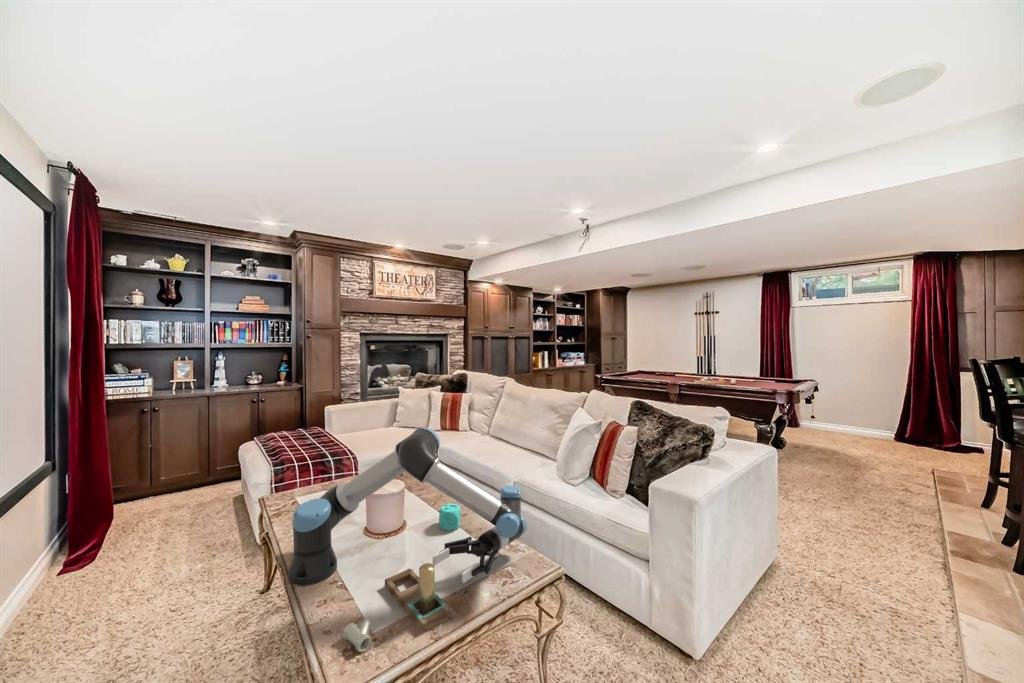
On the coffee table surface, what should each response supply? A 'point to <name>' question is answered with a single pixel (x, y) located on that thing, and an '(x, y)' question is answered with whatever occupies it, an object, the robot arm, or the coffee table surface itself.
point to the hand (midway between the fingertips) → (447, 569)
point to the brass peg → (427, 588)
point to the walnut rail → (416, 601)
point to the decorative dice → (450, 516)
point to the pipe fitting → (358, 635)
